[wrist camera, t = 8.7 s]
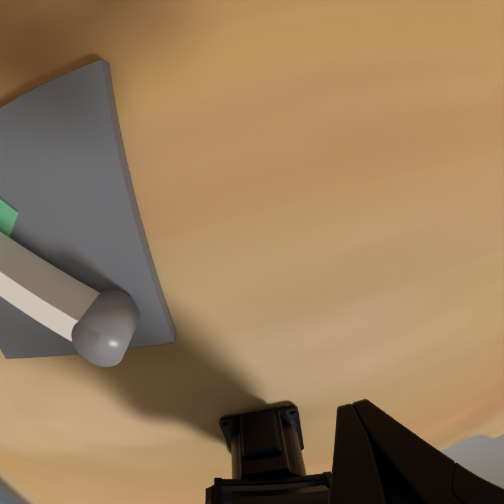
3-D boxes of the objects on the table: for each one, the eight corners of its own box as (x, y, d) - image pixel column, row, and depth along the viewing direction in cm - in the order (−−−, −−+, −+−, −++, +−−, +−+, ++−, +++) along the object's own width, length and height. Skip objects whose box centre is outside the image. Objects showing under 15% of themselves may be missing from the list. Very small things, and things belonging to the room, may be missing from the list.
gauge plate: (176, 332, 21) (173, 344, 20) (12, 351, 21) (5, 360, 20) (109, 63, 15) (100, 58, 14) (-54, 150, 15) (-65, 152, 14)
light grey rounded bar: (146, 304, 19) (132, 336, 16) (130, 341, 20) (115, 375, 16) (-32, 195, 16) (-65, 207, 12) (-39, 234, 16) (-69, 250, 13)
